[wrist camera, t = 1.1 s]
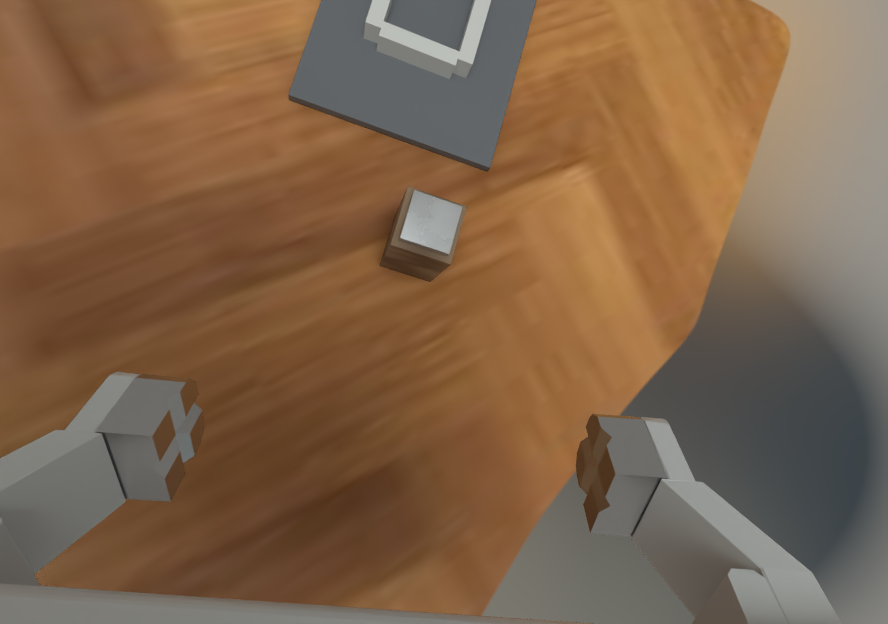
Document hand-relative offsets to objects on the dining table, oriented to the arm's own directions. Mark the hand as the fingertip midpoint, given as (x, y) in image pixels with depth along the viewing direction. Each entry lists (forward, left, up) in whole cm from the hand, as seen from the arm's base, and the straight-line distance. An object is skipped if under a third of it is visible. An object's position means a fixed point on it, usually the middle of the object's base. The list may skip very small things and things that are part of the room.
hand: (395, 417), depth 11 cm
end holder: (-2, +29, -29) cm, 41 cm away
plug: (+2, +11, -29) cm, 31 cm away
